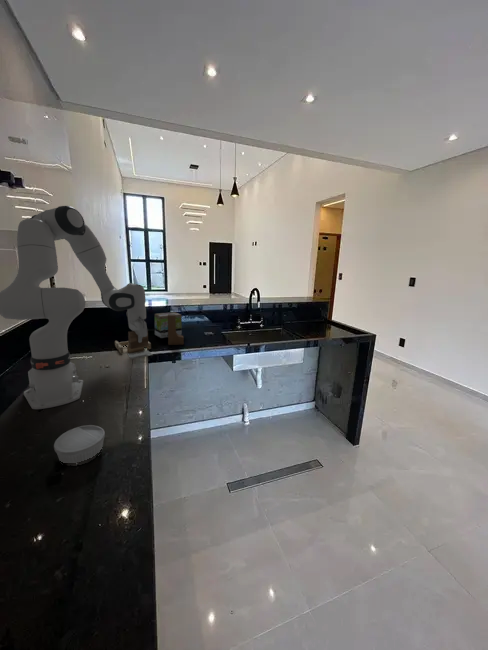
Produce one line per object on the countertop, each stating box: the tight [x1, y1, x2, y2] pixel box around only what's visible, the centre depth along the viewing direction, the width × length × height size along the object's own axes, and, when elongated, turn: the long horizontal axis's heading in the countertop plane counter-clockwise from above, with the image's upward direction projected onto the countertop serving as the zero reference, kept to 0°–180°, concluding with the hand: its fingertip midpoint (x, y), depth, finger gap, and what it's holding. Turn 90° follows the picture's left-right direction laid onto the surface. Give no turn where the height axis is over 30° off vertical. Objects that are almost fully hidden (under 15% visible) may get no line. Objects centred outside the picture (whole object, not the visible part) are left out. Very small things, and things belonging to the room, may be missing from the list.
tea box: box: [154, 311, 183, 339], centre depth 179 cm, size 15×10×15 cm, turn 131°
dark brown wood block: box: [127, 330, 149, 349], centre depth 141 cm, size 4×9×8 cm, turn 128°
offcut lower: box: [127, 346, 146, 354], centre depth 148 cm, size 4×8×2 cm, turn 127°
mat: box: [126, 349, 153, 360], centre depth 143 cm, size 8×11×1 cm
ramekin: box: [53, 424, 106, 463], centre depth 70 cm, size 11×11×5 cm
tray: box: [114, 340, 152, 354], centre depth 153 cm, size 15×16×4 cm
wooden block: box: [167, 314, 185, 346], centre depth 161 cm, size 9×4×18 cm, turn 104°
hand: (138, 340), depth 141 cm, fingers closed on dark brown wood block, 3 cm apart
